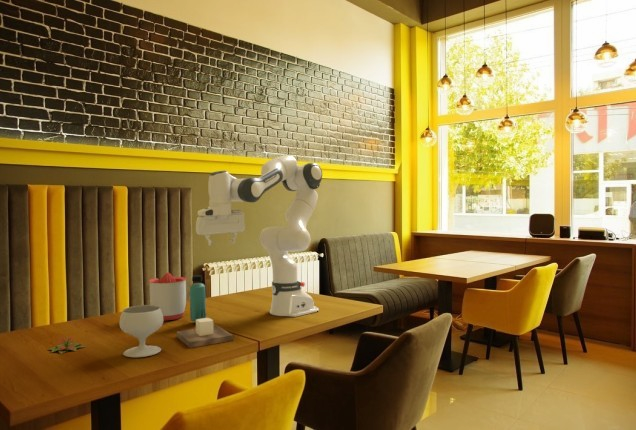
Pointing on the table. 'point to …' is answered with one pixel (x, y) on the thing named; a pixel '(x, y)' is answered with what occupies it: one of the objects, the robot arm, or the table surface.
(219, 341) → the walnut base
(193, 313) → the beverage bottle
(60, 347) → the lily flower
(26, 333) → the table surface
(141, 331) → the chalice
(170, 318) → the citrus juicer
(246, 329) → the table surface
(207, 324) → the off-white cube
